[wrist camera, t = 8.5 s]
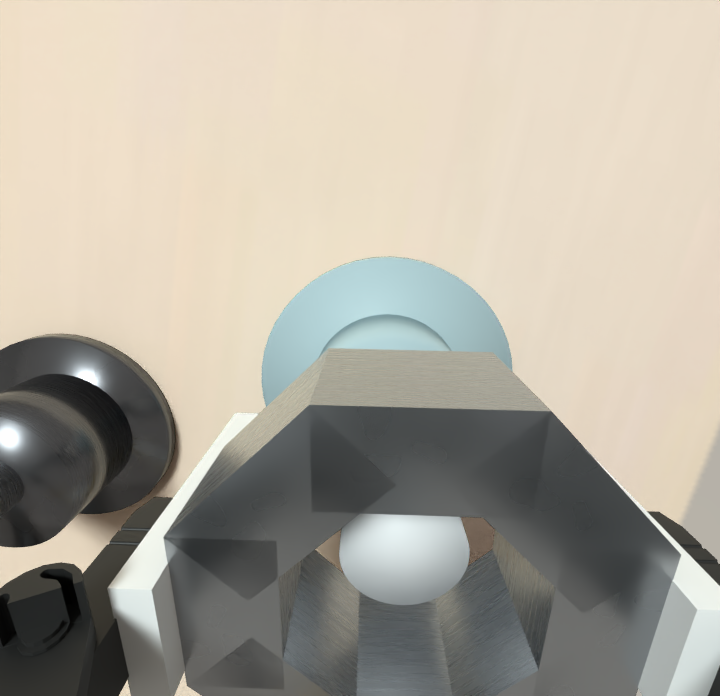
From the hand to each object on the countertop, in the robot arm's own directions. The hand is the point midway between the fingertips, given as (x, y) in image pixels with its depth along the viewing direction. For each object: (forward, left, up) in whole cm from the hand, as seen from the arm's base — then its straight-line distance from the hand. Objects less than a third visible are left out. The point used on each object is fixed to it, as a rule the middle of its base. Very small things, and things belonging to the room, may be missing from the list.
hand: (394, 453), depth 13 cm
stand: (-16, -3, -7) cm, 18 cm away
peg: (0, 0, -7) cm, 7 cm away
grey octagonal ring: (0, 0, +3) cm, 3 cm away
